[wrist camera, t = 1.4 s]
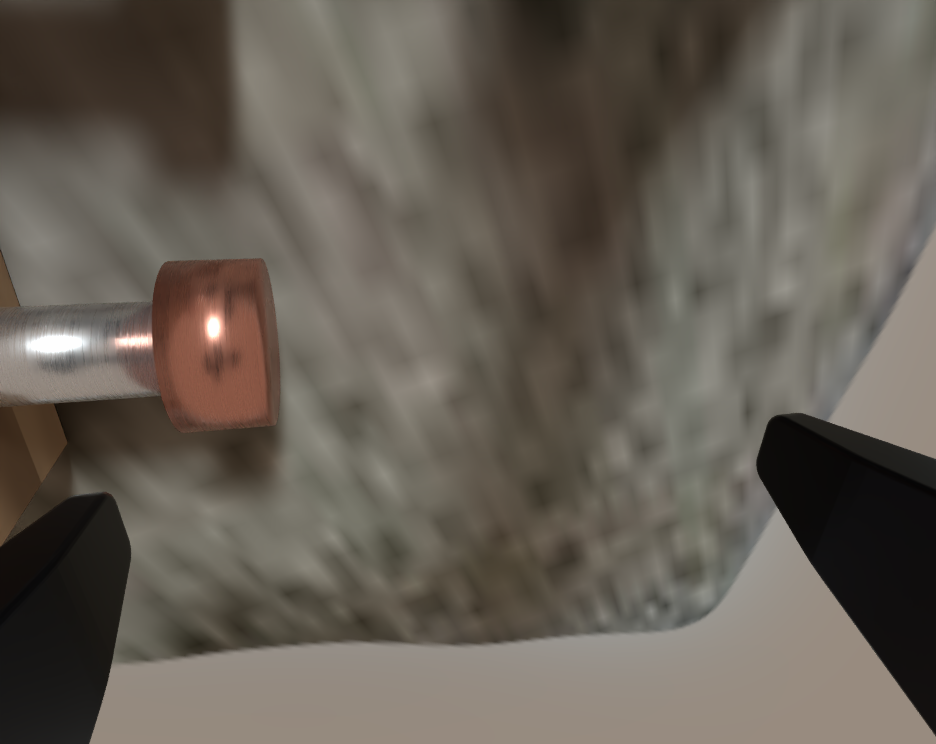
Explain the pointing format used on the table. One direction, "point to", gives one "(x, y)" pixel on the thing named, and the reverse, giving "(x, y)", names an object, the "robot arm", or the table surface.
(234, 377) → the brick knob
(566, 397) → the table surface
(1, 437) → the mount
